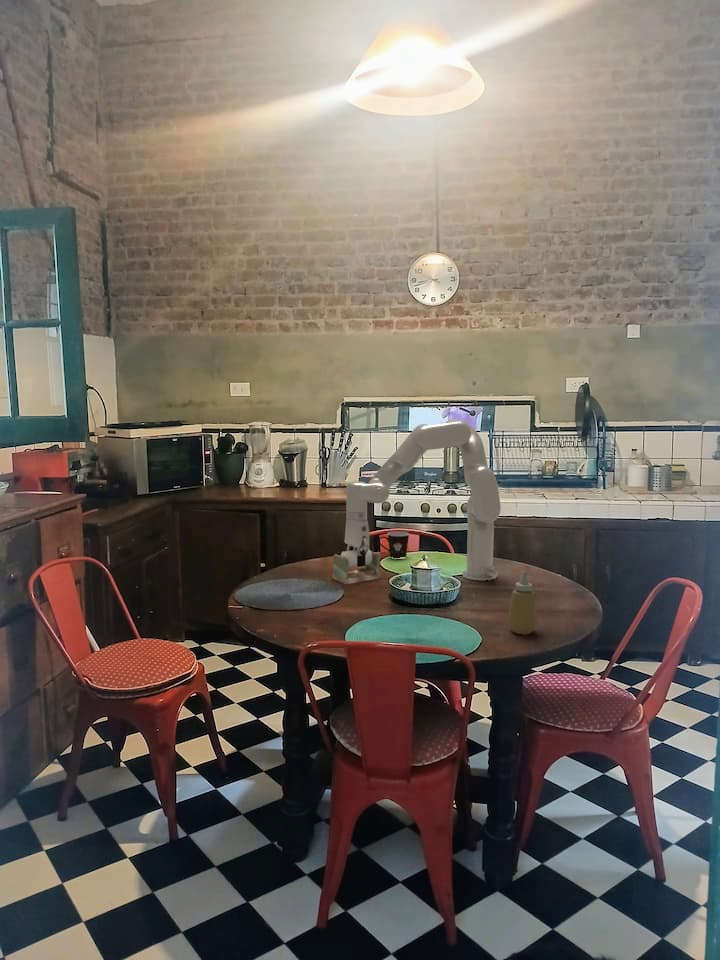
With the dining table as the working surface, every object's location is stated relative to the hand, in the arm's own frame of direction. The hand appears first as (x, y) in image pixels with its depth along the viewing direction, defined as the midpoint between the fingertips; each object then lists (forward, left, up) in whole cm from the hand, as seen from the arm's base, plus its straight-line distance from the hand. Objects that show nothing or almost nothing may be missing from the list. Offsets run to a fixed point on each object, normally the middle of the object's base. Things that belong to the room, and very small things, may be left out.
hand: (356, 563), depth 271 cm
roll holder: (0, 0, -6) cm, 6 cm away
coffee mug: (+18, -30, -6) cm, 36 cm away
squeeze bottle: (-73, -11, -6) cm, 74 cm away
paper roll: (0, 0, -1) cm, 1 cm away
